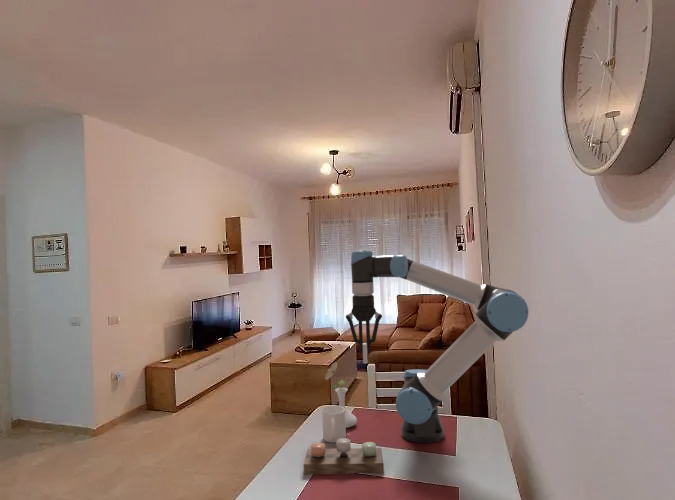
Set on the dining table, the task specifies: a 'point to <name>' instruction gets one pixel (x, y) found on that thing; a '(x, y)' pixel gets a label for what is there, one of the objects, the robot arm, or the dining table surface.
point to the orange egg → (318, 450)
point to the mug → (333, 423)
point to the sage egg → (369, 449)
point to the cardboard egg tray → (343, 462)
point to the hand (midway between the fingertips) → (365, 362)
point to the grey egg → (343, 446)
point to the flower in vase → (341, 396)
